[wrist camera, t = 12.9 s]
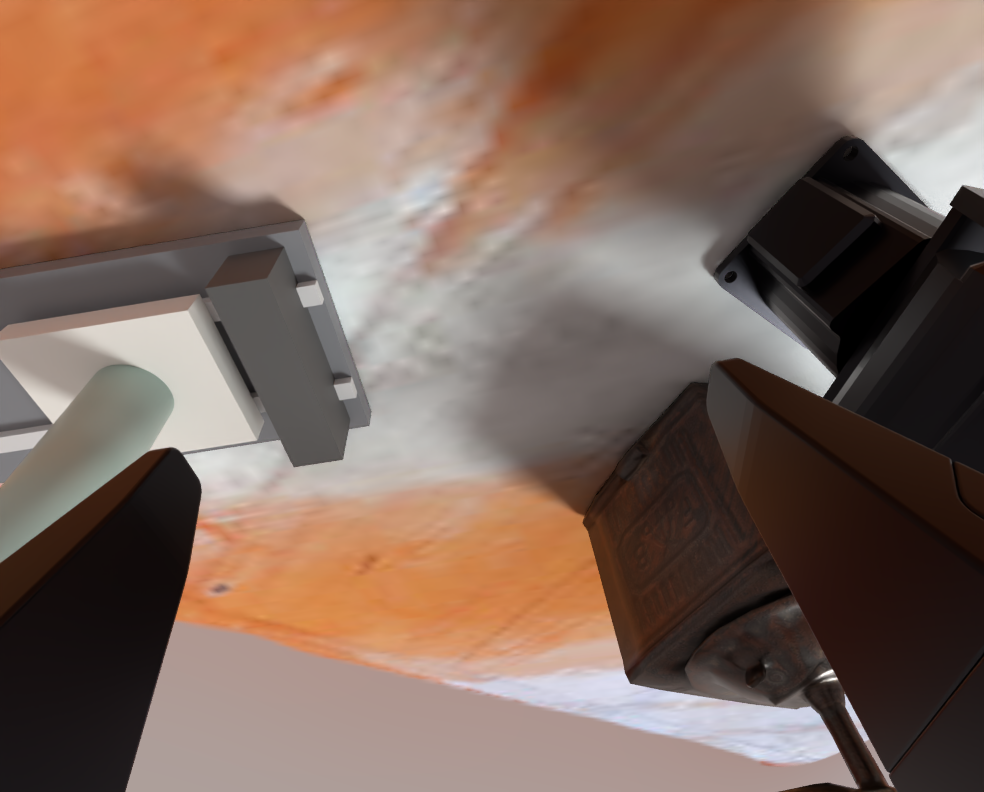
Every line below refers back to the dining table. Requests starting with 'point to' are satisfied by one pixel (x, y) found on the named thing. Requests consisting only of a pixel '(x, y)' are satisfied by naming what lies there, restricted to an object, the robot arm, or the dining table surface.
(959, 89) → the dining table surface
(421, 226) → the dining table surface
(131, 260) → the rail track
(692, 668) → the manual coffee grinder
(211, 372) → the carriage
